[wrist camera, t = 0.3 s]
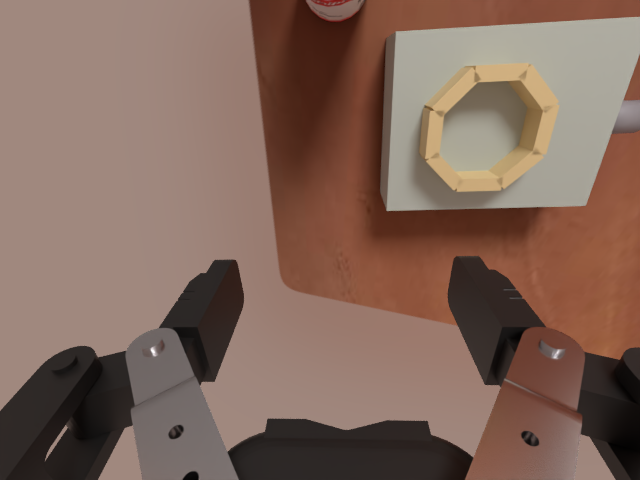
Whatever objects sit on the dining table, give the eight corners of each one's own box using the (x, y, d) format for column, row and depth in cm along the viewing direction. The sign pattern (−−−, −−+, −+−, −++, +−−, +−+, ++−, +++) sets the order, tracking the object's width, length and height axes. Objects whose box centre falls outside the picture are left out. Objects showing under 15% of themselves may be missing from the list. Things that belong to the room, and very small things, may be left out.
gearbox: (386, 38, 32) (401, 28, 24) (643, 22, 30) (743, 6, 23) (380, 192, 39) (390, 220, 32) (586, 186, 38) (648, 214, 30)
